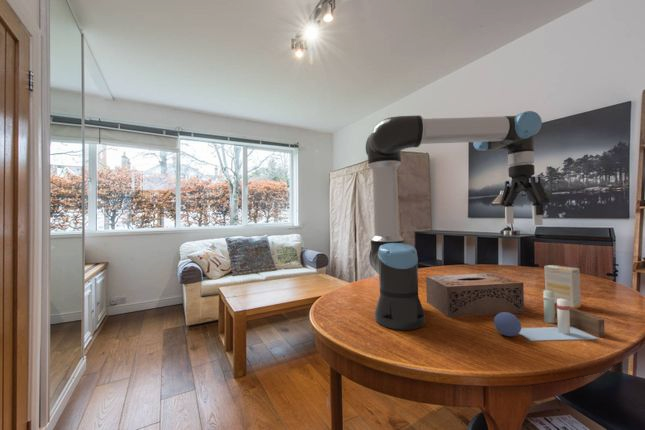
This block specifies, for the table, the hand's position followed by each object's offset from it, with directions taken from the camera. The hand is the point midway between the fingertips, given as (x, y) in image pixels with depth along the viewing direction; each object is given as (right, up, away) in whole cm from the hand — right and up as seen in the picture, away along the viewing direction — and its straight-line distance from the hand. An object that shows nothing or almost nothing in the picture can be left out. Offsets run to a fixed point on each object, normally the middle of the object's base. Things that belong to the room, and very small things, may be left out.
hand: (522, 224), depth 96 cm
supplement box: (+11, -28, -4) cm, 30 cm away
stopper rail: (0, -28, -21) cm, 35 cm away
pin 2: (-8, -28, -25) cm, 39 cm away
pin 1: (-5, -28, -18) cm, 34 cm away
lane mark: (-11, -28, -25) cm, 39 cm away
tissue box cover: (-20, -29, -4) cm, 36 cm away
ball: (-23, -26, -25) cm, 43 cm away
